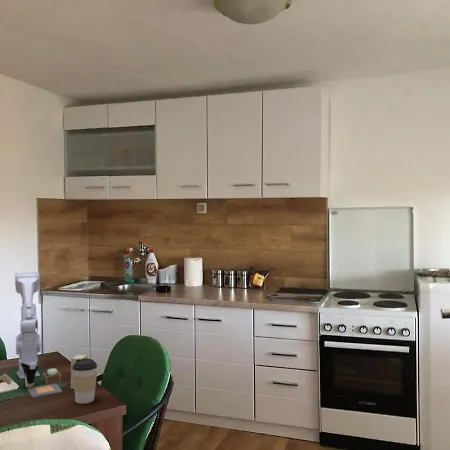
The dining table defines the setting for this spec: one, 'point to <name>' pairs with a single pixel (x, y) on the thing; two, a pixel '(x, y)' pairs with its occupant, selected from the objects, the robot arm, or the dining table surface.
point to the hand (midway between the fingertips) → (29, 382)
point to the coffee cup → (84, 380)
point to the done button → (51, 372)
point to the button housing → (52, 378)
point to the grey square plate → (44, 390)
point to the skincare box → (72, 366)
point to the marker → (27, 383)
